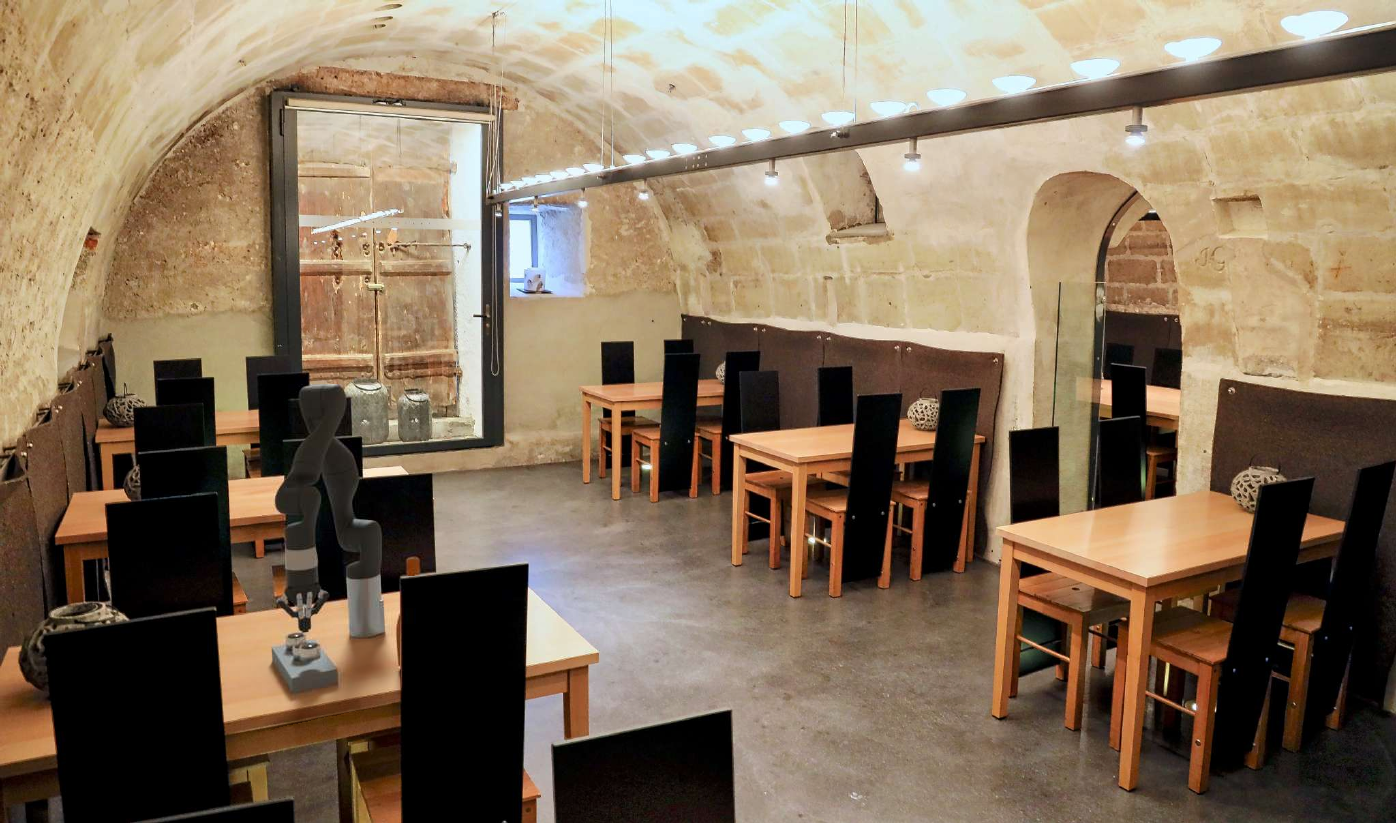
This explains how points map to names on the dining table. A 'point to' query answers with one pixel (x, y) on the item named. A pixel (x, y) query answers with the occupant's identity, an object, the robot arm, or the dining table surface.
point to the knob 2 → (297, 651)
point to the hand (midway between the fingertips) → (304, 631)
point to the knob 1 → (294, 639)
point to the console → (304, 670)
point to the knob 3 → (310, 652)
